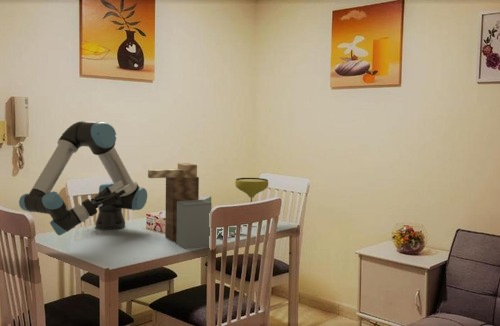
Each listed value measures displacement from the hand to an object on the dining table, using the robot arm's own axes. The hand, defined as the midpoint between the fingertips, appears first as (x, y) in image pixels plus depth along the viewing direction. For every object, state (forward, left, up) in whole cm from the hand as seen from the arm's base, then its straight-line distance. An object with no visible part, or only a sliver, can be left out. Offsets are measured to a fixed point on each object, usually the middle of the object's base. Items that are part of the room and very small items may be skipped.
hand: (126, 184), depth 249 cm
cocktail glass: (-39, +64, -27) cm, 80 cm away
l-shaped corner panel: (-13, +49, -28) cm, 58 cm away
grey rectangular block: (+5, +31, -27) cm, 41 cm away
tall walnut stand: (-9, +26, -27) cm, 39 cm away
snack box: (-37, +37, -28) cm, 59 cm away
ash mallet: (-8, +20, +3) cm, 22 cm away
